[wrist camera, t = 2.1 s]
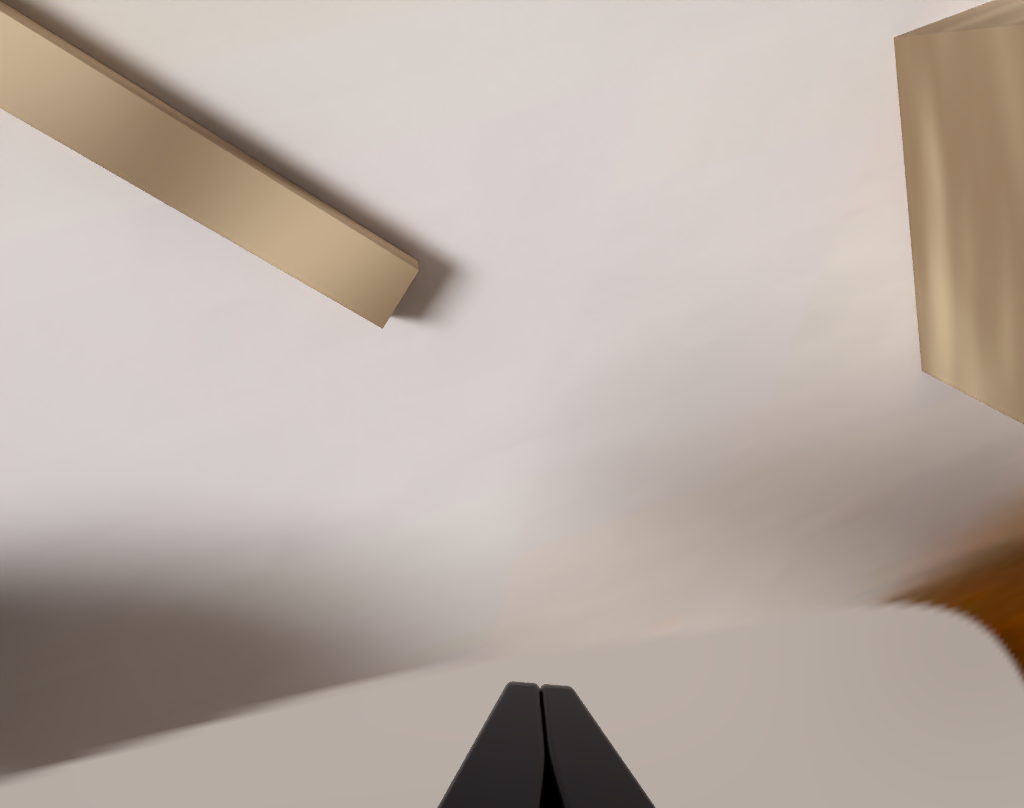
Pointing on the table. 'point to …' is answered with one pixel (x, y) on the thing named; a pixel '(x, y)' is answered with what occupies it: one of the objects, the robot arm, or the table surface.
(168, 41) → the table surface
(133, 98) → the wooden spatula
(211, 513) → the table surface
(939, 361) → the oak tile
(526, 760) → the robot arm
